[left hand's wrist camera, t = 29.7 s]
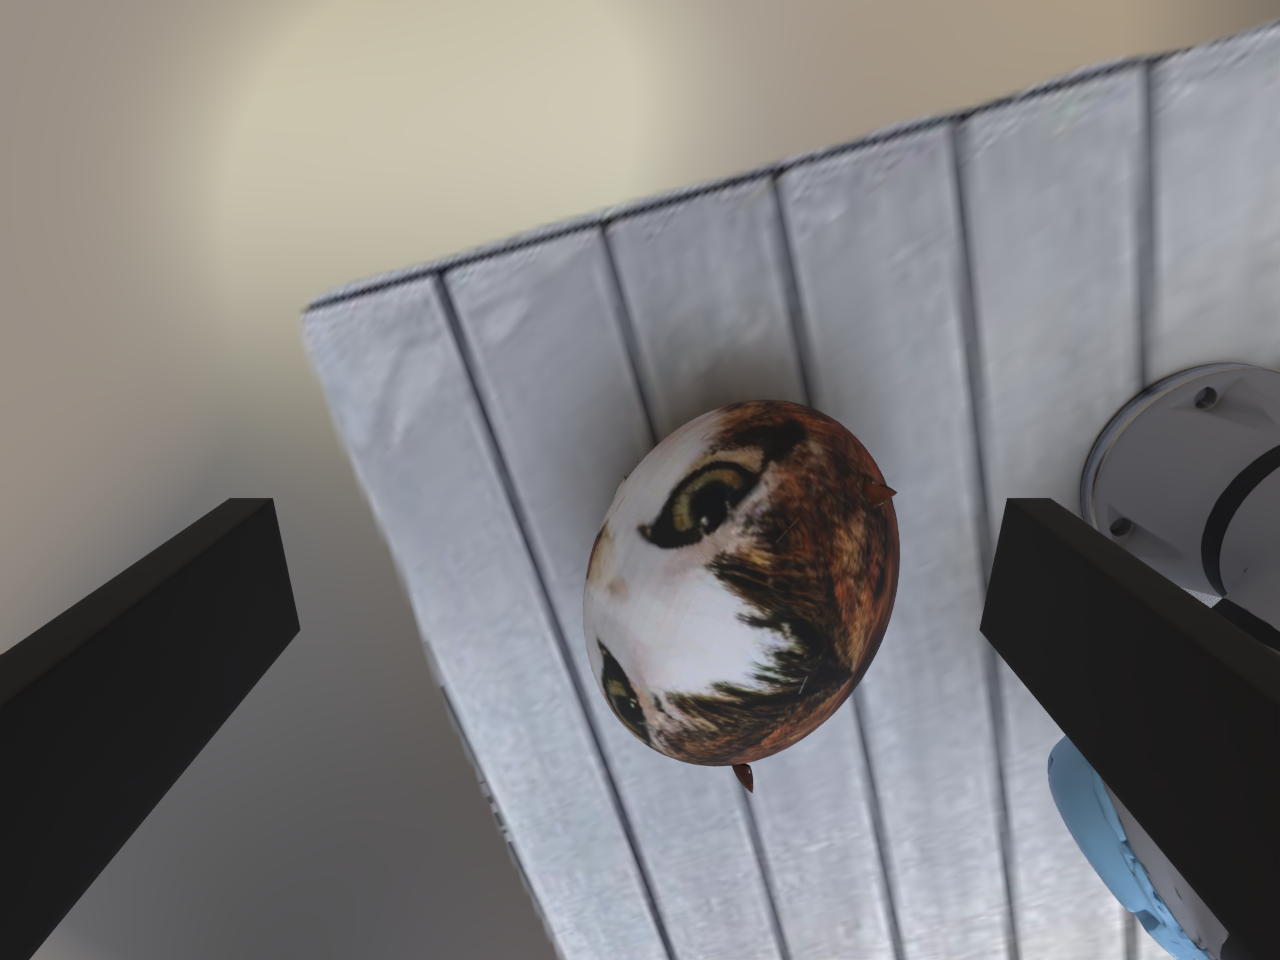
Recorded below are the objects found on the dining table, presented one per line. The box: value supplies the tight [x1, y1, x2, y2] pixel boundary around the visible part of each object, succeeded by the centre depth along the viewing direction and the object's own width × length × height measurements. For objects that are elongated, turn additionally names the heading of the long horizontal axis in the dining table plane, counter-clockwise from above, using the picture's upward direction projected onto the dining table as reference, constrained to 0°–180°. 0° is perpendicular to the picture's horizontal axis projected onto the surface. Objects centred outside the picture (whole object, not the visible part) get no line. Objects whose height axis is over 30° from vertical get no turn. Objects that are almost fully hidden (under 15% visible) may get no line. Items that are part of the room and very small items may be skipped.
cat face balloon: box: [583, 400, 900, 793], centre depth 41 cm, size 22×18×20 cm
